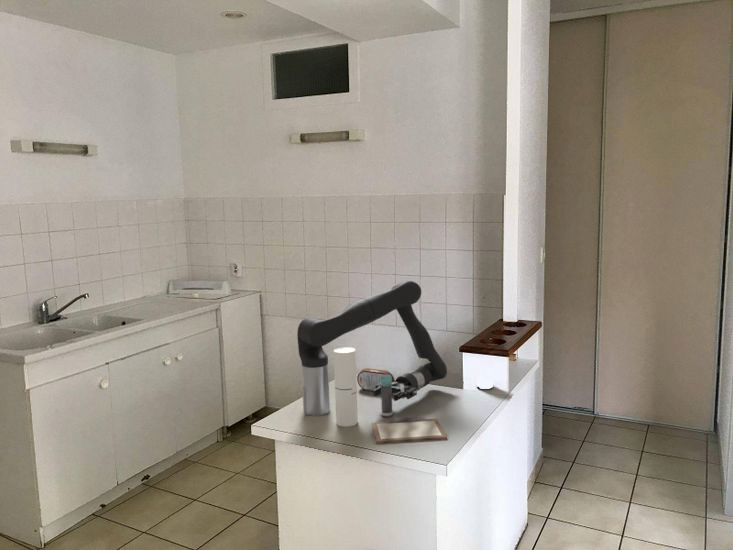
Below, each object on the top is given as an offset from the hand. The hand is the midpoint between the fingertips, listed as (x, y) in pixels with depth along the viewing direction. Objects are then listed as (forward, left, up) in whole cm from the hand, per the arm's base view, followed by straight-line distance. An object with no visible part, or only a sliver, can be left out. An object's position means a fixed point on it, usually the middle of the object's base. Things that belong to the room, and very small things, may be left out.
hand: (384, 395), depth 206 cm
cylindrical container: (-13, -3, -8) cm, 15 cm away
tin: (0, +28, -8) cm, 29 cm away
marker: (+1, +1, -8) cm, 8 cm away
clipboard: (+6, -14, -8) cm, 17 cm away
